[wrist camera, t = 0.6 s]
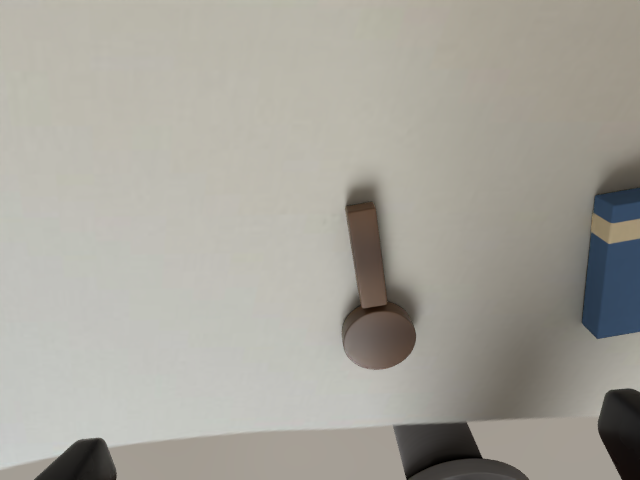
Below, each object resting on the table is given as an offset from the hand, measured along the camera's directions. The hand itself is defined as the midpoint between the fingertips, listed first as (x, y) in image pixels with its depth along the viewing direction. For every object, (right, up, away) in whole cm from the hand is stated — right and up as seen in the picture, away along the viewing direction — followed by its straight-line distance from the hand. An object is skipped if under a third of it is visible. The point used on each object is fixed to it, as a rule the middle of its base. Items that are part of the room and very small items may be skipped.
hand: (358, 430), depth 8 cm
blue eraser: (+16, +2, +16) cm, 22 cm away
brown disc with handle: (+2, +1, +16) cm, 16 cm away
